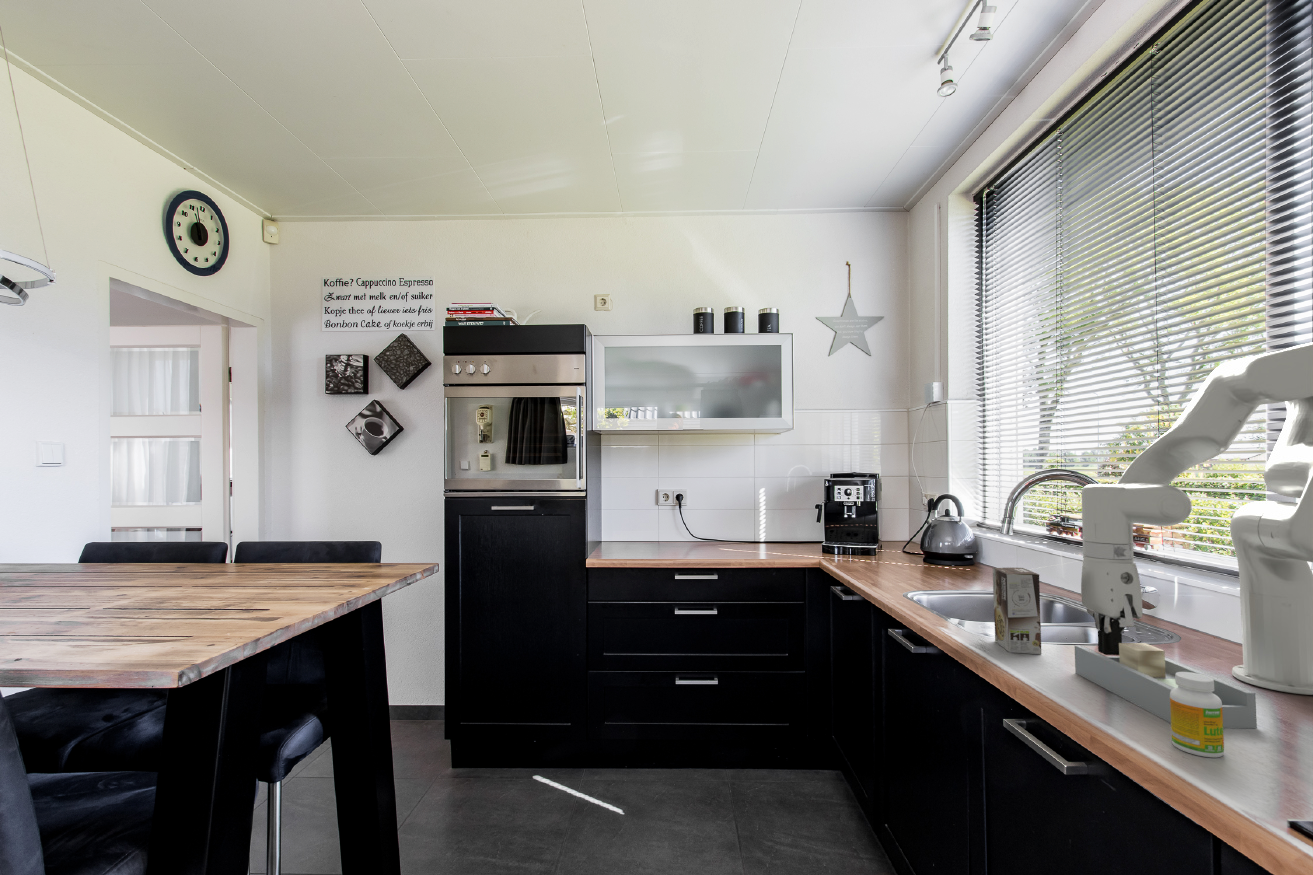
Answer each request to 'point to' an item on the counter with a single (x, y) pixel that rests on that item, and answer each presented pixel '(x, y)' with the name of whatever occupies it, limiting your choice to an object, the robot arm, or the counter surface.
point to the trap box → (1162, 687)
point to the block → (1143, 658)
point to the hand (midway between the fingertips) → (1110, 653)
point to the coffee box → (1017, 610)
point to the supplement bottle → (1196, 716)
